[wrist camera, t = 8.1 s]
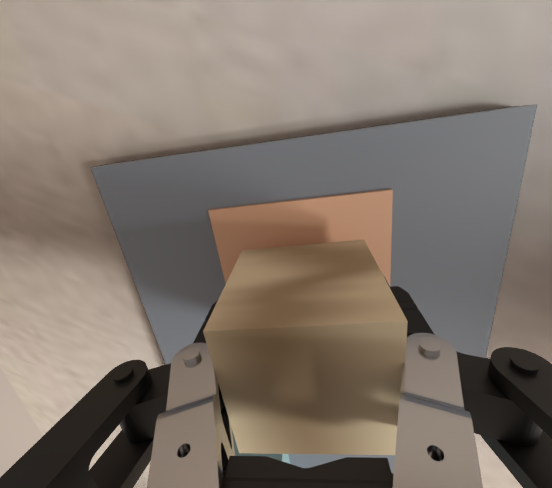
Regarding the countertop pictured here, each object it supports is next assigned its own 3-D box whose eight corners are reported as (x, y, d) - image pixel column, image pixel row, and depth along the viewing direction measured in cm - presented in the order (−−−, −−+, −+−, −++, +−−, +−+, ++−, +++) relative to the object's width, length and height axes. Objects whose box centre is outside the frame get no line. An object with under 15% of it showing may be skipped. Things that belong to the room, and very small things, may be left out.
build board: (513, 106, 11) (541, 104, 10) (449, 476, 21) (458, 499, 19) (107, 164, 13) (87, 168, 12) (217, 471, 23) (212, 491, 22)
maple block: (364, 239, 11) (407, 320, 6) (365, 338, 13) (399, 455, 8) (242, 250, 12) (202, 331, 7) (260, 342, 14) (239, 453, 9)
